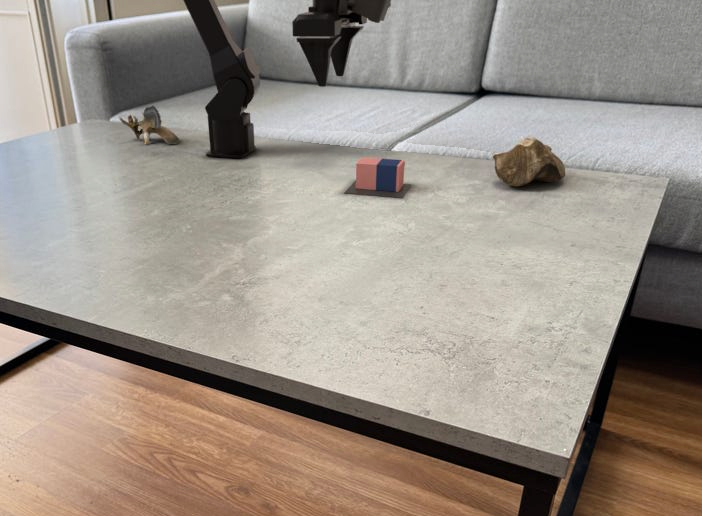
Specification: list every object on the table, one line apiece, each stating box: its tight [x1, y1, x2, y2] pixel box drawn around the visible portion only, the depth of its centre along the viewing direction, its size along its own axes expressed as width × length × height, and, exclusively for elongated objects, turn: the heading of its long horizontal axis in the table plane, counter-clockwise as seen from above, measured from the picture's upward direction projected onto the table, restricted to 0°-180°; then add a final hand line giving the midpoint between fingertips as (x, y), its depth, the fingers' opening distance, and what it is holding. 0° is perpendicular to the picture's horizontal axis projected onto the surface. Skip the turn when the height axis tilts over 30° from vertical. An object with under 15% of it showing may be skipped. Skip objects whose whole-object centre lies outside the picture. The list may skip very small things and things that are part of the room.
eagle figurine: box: [118, 105, 180, 146], centre depth 123 cm, size 8×7×9 cm
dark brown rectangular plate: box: [343, 179, 412, 199], centre depth 96 cm, size 8×6×1 cm
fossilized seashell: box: [492, 136, 566, 187], centre depth 95 cm, size 8×7×10 cm
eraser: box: [355, 157, 406, 192], centre depth 96 cm, size 6×3×4 cm, turn 69°
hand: (331, 81), depth 108 cm, fingers open, 9 cm apart
